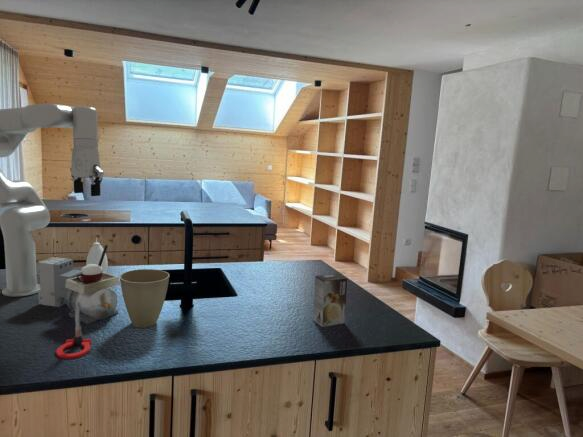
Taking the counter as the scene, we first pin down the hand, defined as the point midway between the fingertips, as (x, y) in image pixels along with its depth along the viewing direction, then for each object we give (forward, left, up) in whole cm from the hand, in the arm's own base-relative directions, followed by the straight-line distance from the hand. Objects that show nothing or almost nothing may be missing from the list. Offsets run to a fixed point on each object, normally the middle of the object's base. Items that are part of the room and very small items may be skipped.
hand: (87, 194), depth 151 cm
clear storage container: (+13, -7, -38) cm, 41 cm away
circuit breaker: (-4, -7, -38) cm, 39 cm away
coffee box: (+77, +38, -38) cm, 94 cm away
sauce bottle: (-19, +16, -38) cm, 46 cm away
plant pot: (+31, -1, -38) cm, 49 cm away
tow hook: (+31, -25, -39) cm, 56 cm away
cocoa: (+13, -7, -28) cm, 31 cm away
